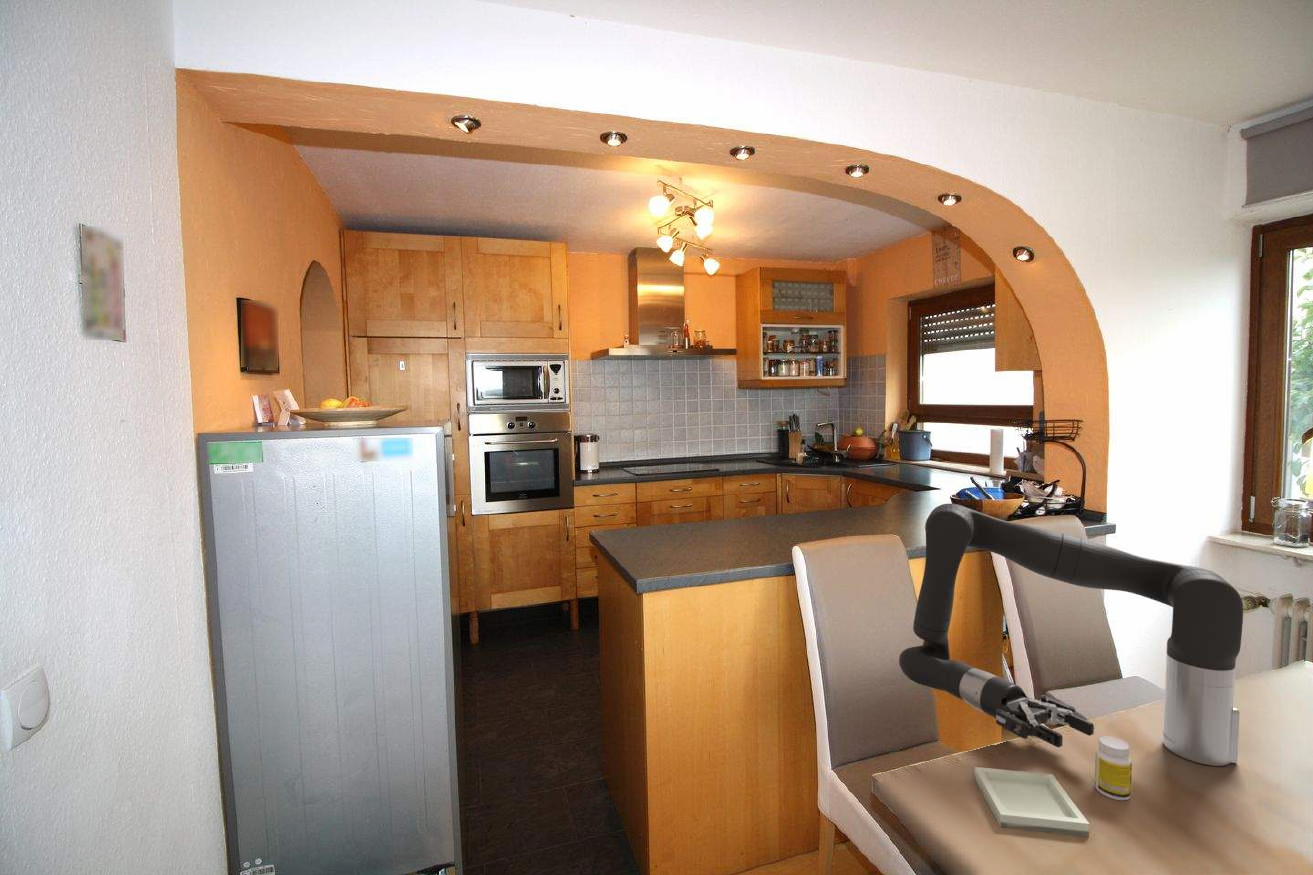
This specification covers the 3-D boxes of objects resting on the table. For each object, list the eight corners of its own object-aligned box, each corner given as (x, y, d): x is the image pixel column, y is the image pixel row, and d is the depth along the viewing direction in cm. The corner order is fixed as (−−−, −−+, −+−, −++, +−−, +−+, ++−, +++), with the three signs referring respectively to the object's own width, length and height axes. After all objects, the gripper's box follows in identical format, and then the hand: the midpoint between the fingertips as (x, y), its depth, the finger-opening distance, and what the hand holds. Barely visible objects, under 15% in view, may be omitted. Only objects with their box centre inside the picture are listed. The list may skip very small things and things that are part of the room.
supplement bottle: (1137, 802, 96) (1139, 752, 96) (1103, 799, 97) (1105, 749, 97) (1120, 784, 101) (1122, 735, 100) (1088, 780, 102) (1090, 732, 101)
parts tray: (1051, 785, 101) (1052, 774, 101) (1088, 836, 89) (1089, 823, 89) (974, 778, 103) (974, 766, 103) (1000, 826, 91) (1000, 814, 91)
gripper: (966, 683, 116) (1051, 724, 101) (1016, 669, 121) (1103, 705, 107) (965, 721, 116) (1050, 767, 101) (1015, 705, 122) (1102, 746, 107)
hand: (1077, 735), depth 104 cm, fingers open, 8 cm apart
